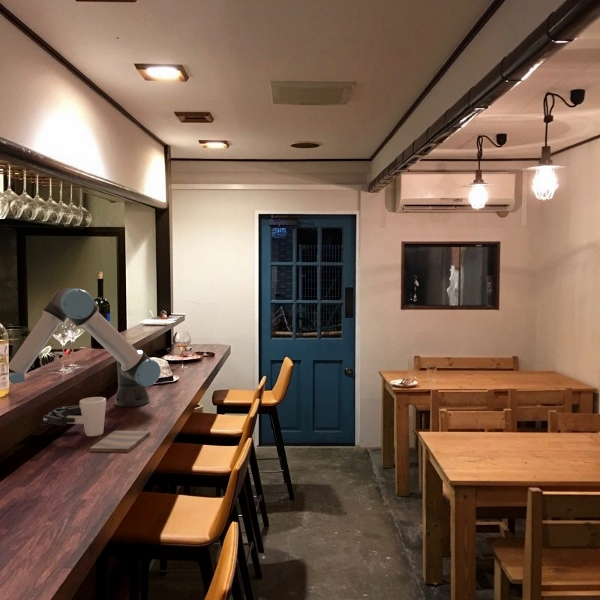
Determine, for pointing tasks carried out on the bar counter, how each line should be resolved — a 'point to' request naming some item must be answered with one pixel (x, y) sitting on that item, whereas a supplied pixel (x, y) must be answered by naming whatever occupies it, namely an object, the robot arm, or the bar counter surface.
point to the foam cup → (93, 415)
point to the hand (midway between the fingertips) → (92, 414)
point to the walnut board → (120, 441)
